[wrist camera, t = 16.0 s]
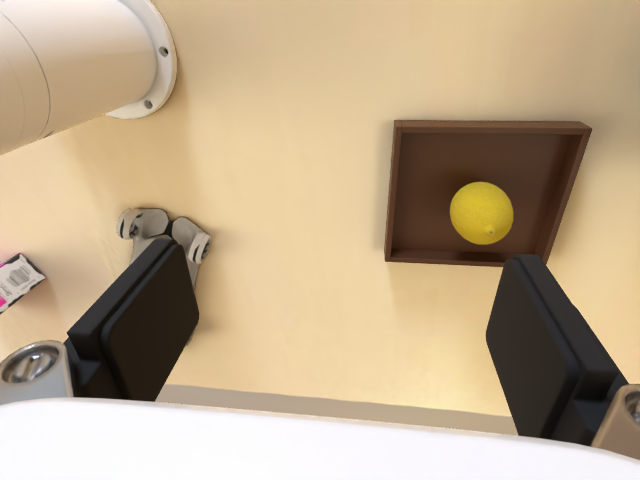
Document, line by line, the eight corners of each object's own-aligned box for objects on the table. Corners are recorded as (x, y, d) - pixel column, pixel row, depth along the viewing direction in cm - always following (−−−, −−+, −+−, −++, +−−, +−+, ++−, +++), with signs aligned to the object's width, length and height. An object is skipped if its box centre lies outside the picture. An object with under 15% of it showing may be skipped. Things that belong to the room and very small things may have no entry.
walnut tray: (384, 250, 46) (384, 261, 44) (394, 120, 38) (395, 126, 36) (536, 256, 44) (544, 269, 42) (579, 121, 36) (592, 128, 34)
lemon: (509, 179, 39) (538, 215, 33) (482, 224, 42) (504, 266, 35) (458, 163, 39) (476, 196, 32) (435, 210, 42) (447, 248, 35)
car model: (218, 227, 47) (203, 249, 43) (189, 355, 59) (175, 382, 55) (129, 196, 46) (104, 216, 42) (119, 333, 59) (99, 358, 54)
